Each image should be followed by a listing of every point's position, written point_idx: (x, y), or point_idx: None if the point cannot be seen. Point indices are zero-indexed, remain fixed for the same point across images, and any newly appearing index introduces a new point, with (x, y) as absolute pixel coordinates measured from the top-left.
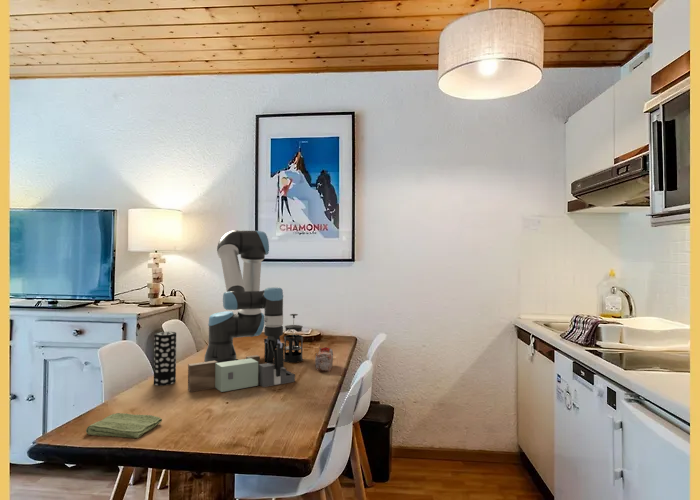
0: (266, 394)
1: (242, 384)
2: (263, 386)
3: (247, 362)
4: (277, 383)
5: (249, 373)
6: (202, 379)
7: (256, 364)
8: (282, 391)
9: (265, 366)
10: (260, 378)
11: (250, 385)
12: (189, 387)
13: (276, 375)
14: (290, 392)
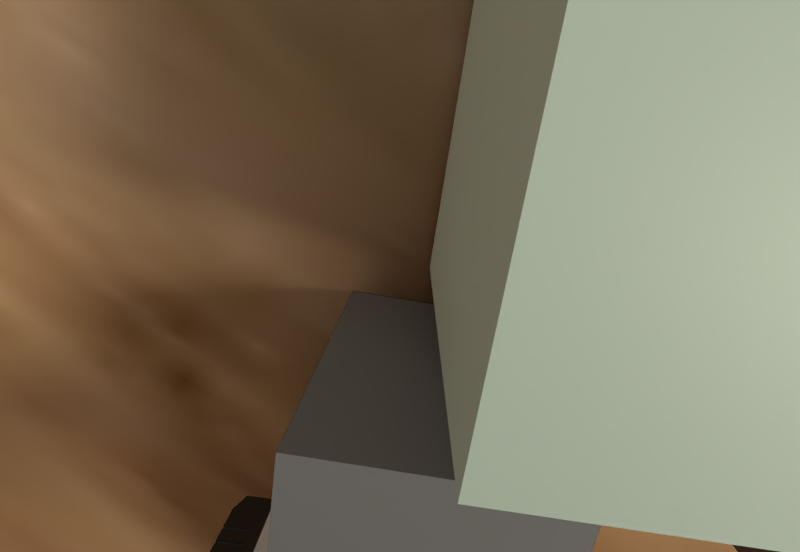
0: (88, 167)
1: (475, 25)
2: (351, 295)
3: (723, 71)
4: None
5: (471, 136)
6: None
7: (457, 382)
8: (97, 357)
9: (300, 513)
10: None
11: (447, 165)
12: None
13: (262, 509)
14: (26, 395)
